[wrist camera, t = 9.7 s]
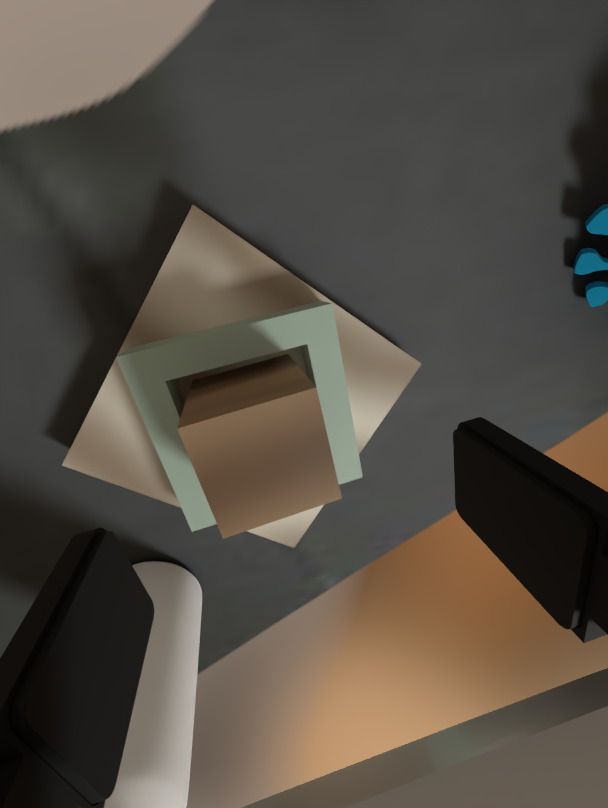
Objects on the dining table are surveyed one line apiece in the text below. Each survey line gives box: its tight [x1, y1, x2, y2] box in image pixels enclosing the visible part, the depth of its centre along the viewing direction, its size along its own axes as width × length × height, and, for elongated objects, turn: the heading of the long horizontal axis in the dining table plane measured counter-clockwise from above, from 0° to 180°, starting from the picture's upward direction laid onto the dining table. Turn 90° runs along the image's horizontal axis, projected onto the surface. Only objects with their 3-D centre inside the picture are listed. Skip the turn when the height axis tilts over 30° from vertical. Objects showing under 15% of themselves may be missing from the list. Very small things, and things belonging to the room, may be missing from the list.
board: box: [62, 205, 421, 548], centre depth 19 cm, size 14×14×2 cm
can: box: [104, 561, 202, 808], centre depth 17 cm, size 6×6×12 cm
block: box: [177, 354, 342, 539], centre depth 16 cm, size 5×5×6 cm
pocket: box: [116, 301, 363, 532], centre depth 17 cm, size 10×10×2 cm
